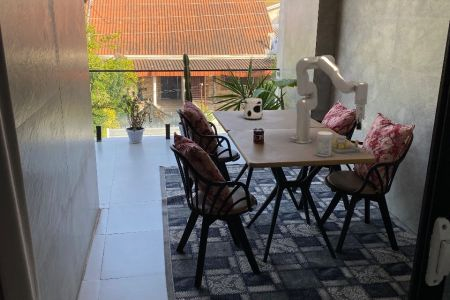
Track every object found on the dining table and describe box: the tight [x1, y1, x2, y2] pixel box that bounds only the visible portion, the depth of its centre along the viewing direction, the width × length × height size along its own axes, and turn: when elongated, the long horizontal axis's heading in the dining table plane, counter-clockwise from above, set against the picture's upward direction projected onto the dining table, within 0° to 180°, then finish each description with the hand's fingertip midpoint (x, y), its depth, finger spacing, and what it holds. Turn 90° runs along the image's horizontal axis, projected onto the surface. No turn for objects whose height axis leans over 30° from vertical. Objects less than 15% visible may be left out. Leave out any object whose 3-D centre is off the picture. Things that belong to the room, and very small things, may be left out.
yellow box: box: [332, 138, 359, 149], centre depth 295 cm, size 17×12×5 cm
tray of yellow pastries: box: [332, 135, 360, 155], centre depth 296 cm, size 16×20×9 cm
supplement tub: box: [315, 131, 333, 158], centre depth 281 cm, size 10×10×15 cm
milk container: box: [243, 97, 264, 121], centre depth 395 cm, size 17×17×18 cm
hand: (358, 129), depth 286 cm, fingers closed
